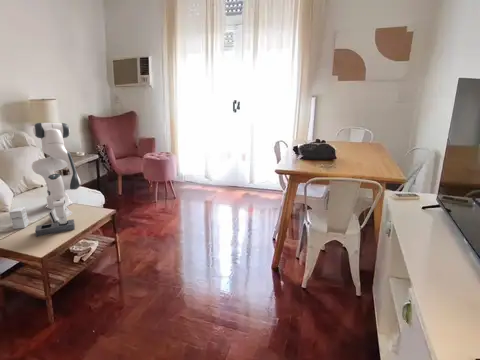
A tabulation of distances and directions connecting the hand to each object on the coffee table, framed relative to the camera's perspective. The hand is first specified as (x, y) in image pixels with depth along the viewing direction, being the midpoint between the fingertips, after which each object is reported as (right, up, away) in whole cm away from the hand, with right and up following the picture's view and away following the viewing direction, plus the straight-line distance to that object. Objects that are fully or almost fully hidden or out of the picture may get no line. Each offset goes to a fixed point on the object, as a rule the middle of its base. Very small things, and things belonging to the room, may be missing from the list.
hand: (62, 218), depth 223 cm
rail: (-5, -8, 0) cm, 9 cm away
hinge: (-12, -2, +20) cm, 24 cm away
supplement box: (-32, -6, +8) cm, 34 cm away
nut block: (0, -2, +1) cm, 3 cm away
